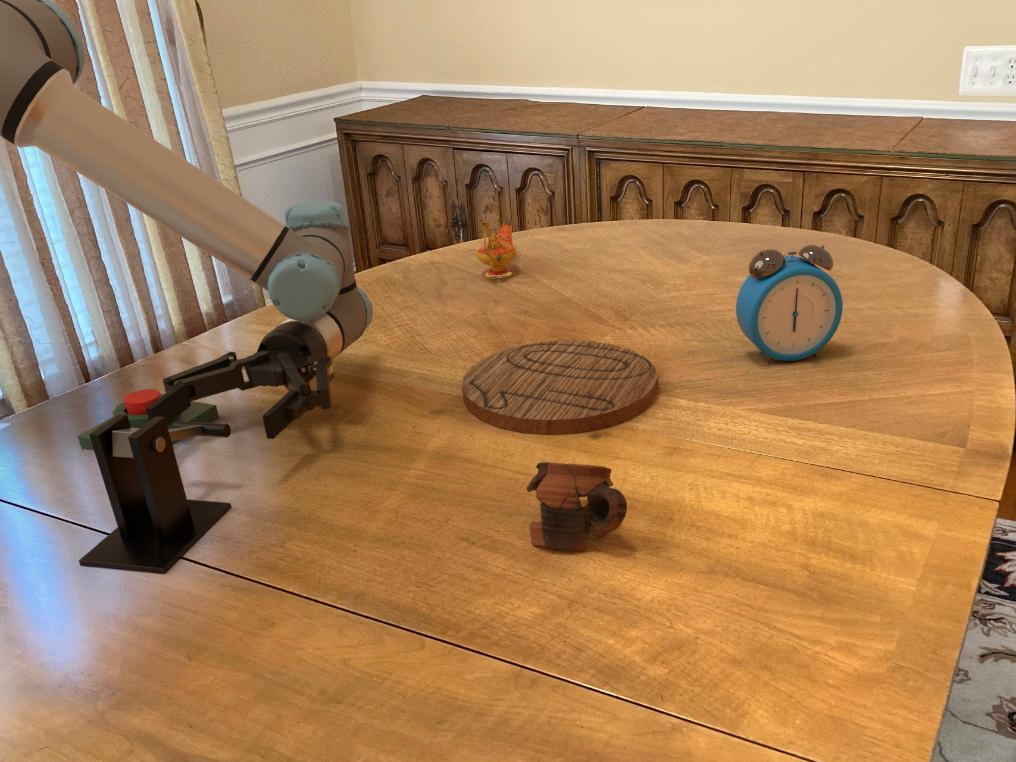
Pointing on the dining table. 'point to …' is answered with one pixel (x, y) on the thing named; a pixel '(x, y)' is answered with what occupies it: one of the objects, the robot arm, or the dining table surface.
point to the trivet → (560, 387)
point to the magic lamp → (497, 249)
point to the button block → (192, 414)
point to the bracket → (147, 502)
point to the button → (140, 401)
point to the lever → (176, 433)
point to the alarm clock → (789, 303)
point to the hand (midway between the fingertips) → (209, 423)
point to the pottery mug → (574, 505)
